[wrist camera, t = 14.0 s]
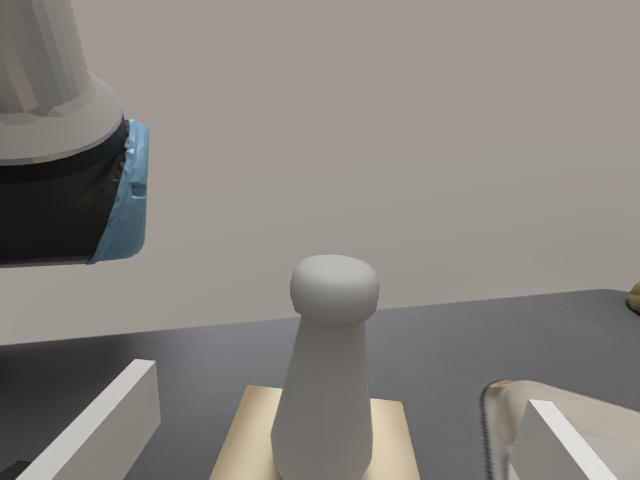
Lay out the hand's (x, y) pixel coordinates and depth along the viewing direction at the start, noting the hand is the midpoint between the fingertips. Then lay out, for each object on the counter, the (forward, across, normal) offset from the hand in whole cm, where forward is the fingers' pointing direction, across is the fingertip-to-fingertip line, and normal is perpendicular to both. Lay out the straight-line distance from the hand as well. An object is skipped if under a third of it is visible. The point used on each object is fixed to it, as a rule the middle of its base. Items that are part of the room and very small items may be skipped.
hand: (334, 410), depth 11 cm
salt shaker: (+5, 0, -9) cm, 11 cm away
